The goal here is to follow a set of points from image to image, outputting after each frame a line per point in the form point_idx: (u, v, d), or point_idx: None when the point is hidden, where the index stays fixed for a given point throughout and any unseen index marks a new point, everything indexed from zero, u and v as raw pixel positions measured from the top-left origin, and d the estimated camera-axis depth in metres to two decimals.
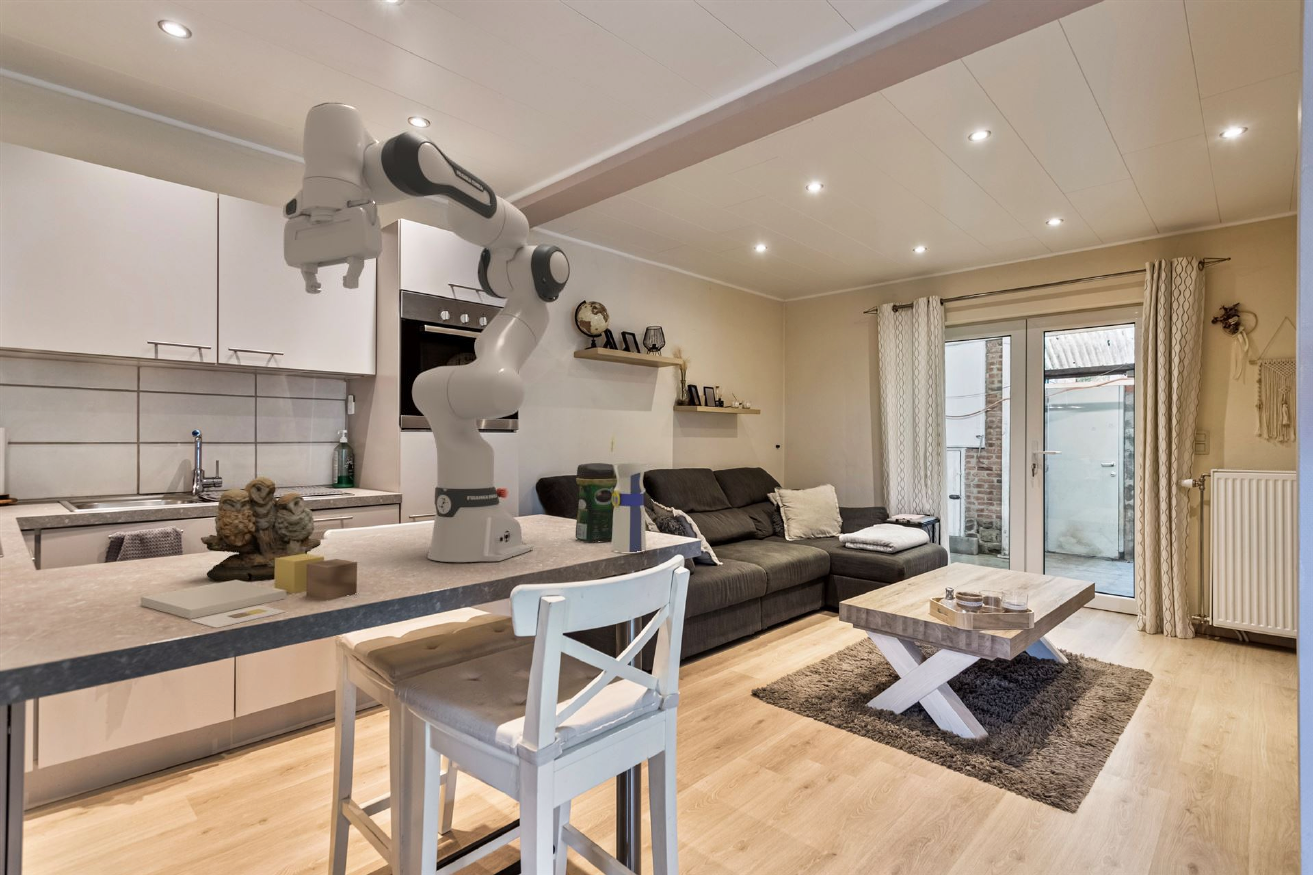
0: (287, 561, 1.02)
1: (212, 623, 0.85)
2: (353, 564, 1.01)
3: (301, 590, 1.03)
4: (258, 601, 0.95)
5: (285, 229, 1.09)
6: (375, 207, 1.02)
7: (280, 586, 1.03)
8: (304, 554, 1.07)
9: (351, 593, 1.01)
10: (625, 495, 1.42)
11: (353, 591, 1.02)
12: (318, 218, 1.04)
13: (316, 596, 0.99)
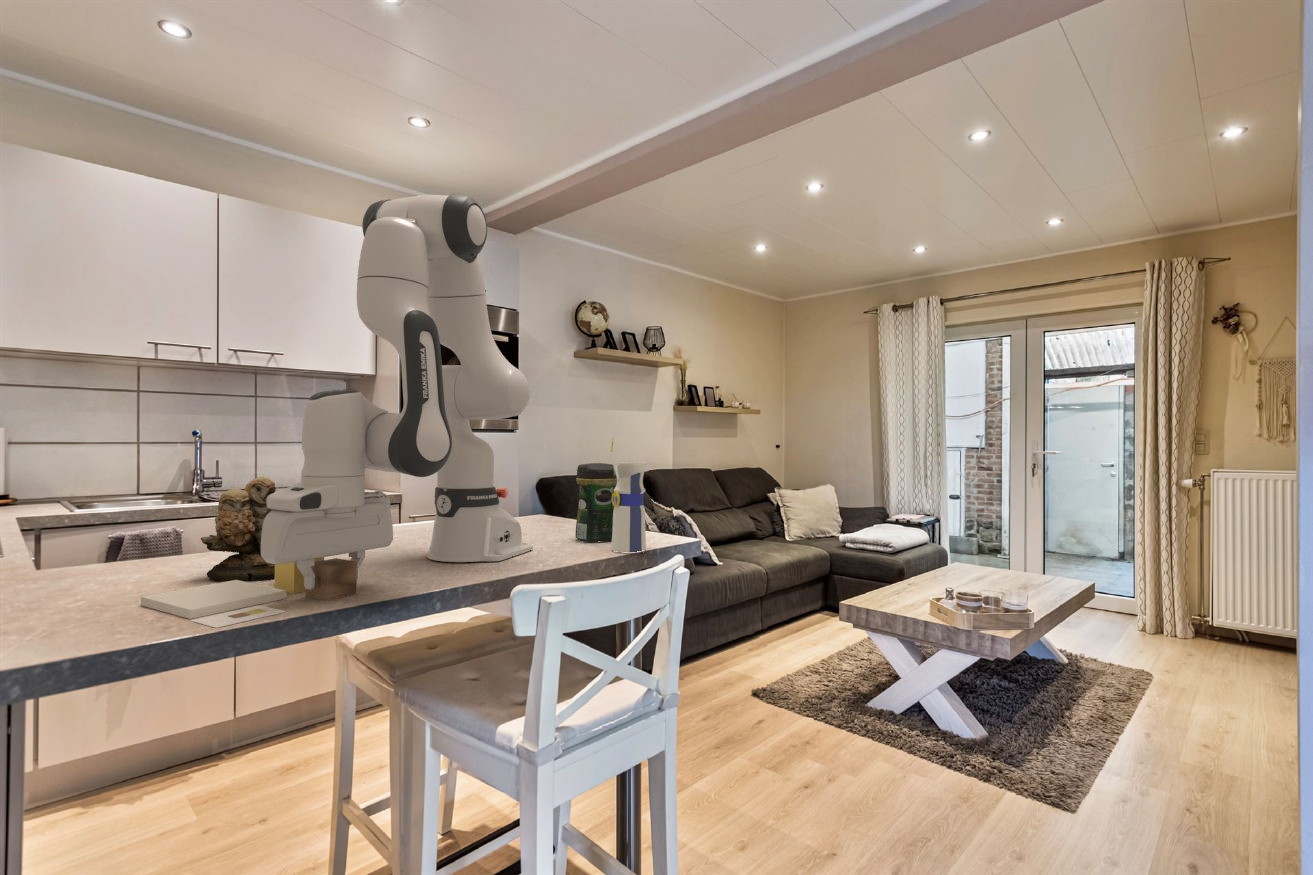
0: None
1: (212, 623, 0.85)
2: (353, 563, 1.01)
3: (301, 590, 1.03)
4: (258, 601, 0.95)
5: (287, 523, 0.92)
6: None
7: (280, 586, 1.03)
8: None
9: (351, 592, 1.01)
10: (625, 495, 1.42)
11: (353, 590, 1.02)
12: (350, 515, 1.00)
13: (316, 595, 0.99)
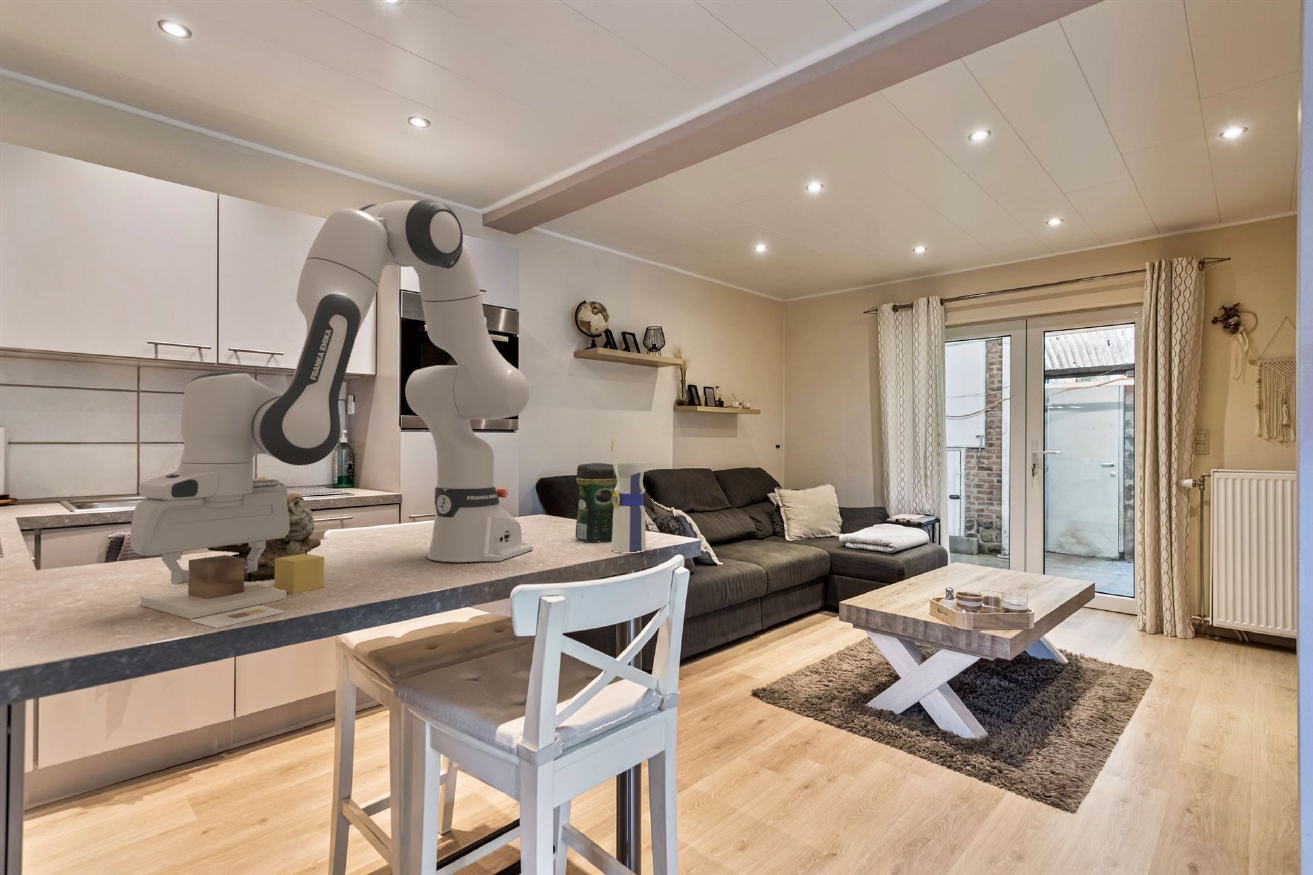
0: (287, 561, 1.02)
1: (212, 623, 0.85)
2: (239, 560, 0.96)
3: (301, 590, 1.03)
4: (258, 601, 0.95)
5: (157, 512, 0.87)
6: None
7: (280, 586, 1.03)
8: (304, 554, 1.07)
9: (237, 591, 0.96)
10: (625, 495, 1.42)
11: (240, 589, 0.96)
12: (234, 504, 0.95)
13: (197, 594, 0.93)
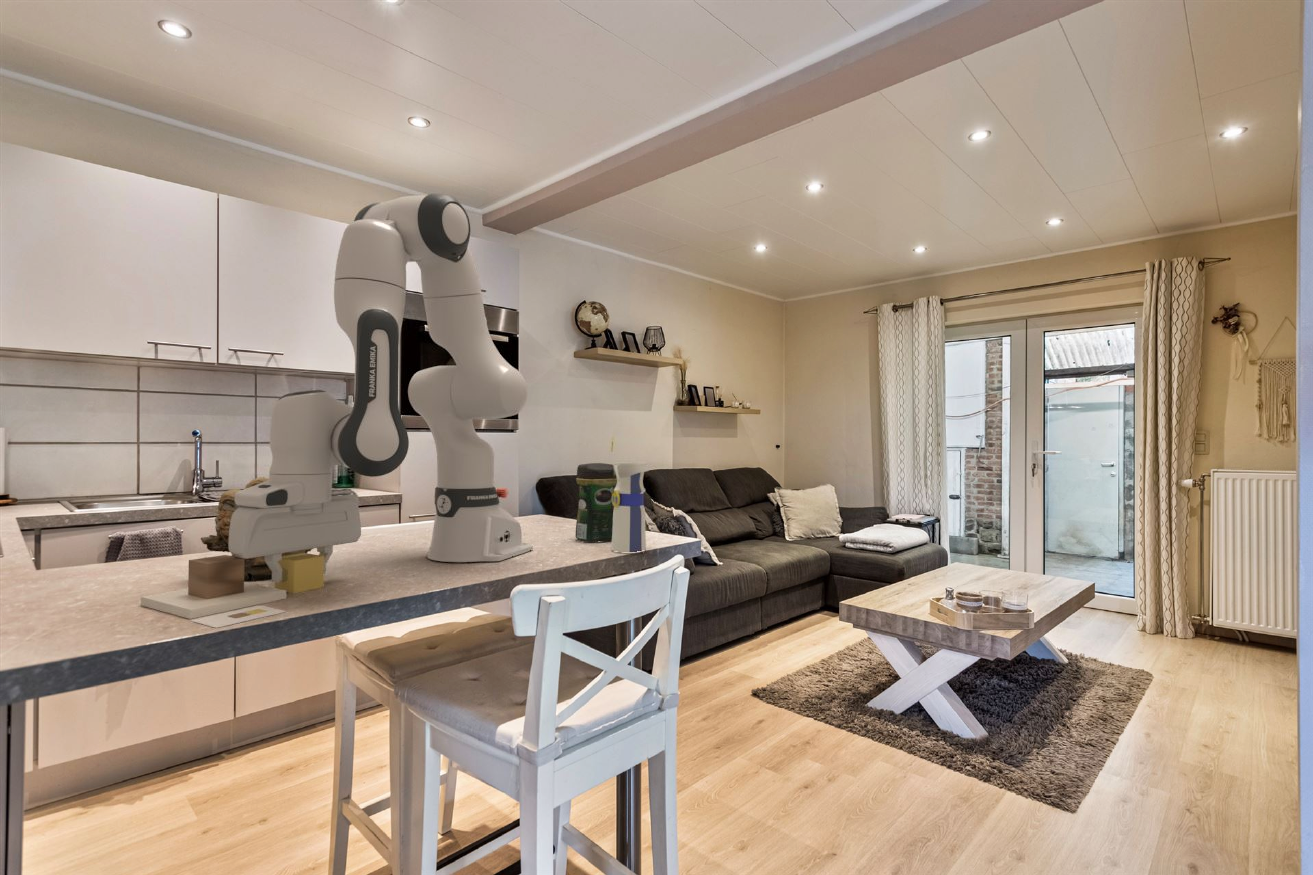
0: (287, 560, 1.02)
1: (212, 623, 0.85)
2: (239, 560, 0.96)
3: (301, 589, 1.03)
4: (258, 601, 0.95)
5: (254, 519, 0.96)
6: (357, 498, 1.14)
7: (280, 585, 1.03)
8: (304, 553, 1.07)
9: (237, 591, 0.96)
10: (625, 495, 1.42)
11: (240, 589, 0.96)
12: (317, 511, 1.04)
13: (197, 594, 0.93)
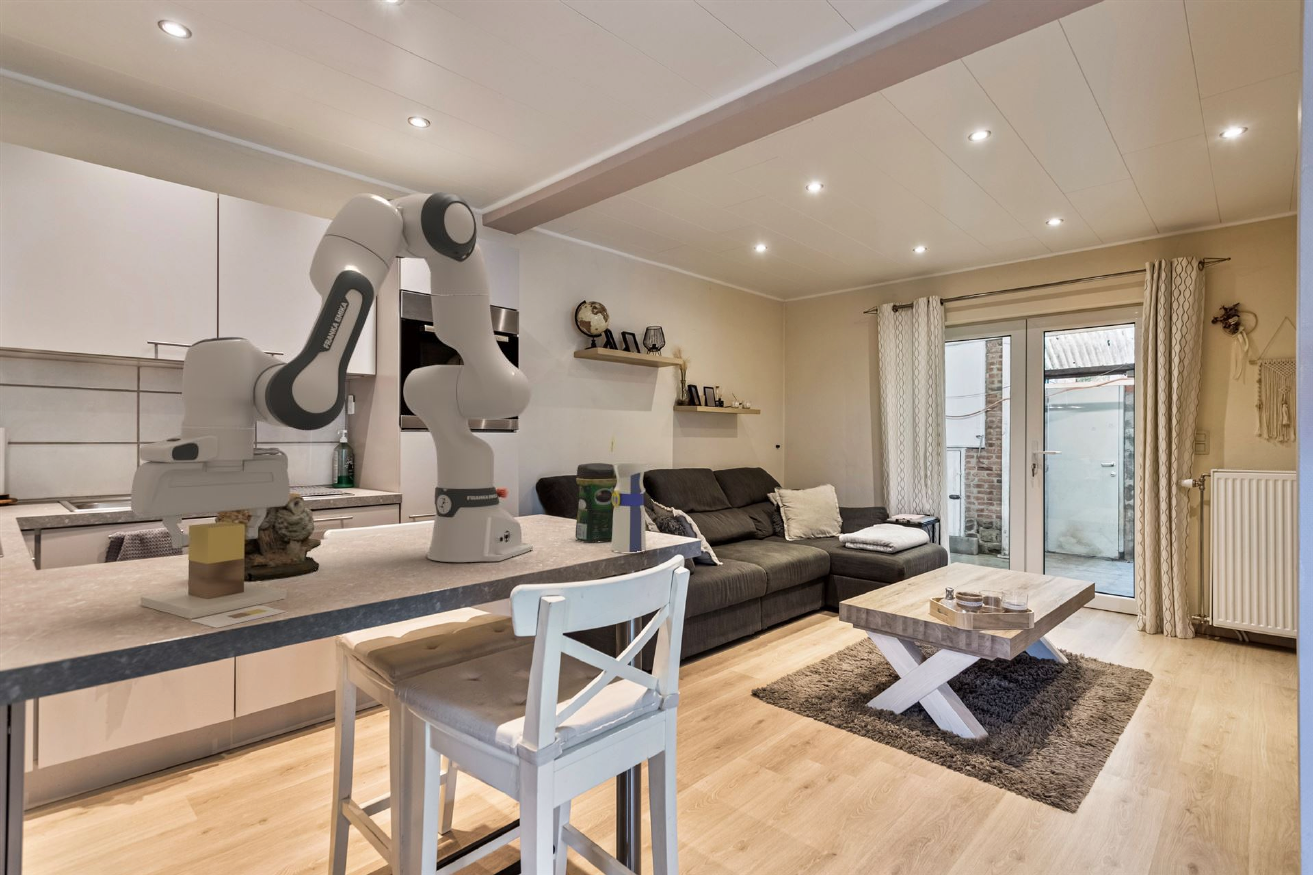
0: (201, 528, 0.93)
1: (212, 623, 0.85)
2: (239, 560, 0.96)
3: (217, 560, 0.93)
4: (258, 601, 0.95)
5: (158, 474, 0.87)
6: None
7: (194, 556, 0.94)
8: (224, 522, 0.98)
9: (237, 591, 0.96)
10: (625, 495, 1.42)
11: (240, 589, 0.96)
12: (235, 469, 0.95)
13: (197, 594, 0.93)
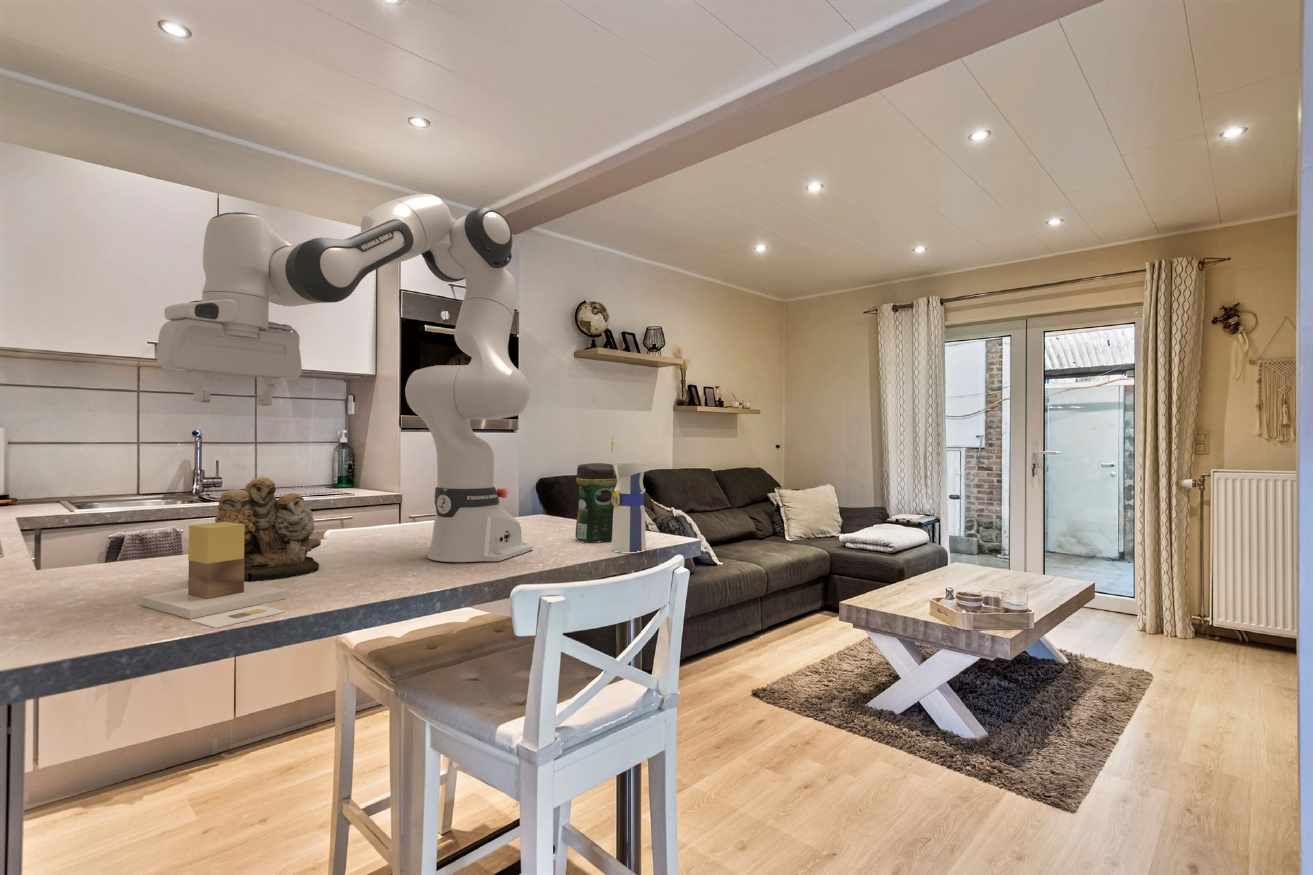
0: (201, 528, 0.93)
1: (212, 623, 0.85)
2: (239, 560, 0.96)
3: (216, 560, 0.93)
4: (258, 601, 0.95)
5: (182, 328, 0.94)
6: (298, 337, 1.12)
7: (194, 556, 0.94)
8: (224, 522, 0.98)
9: (237, 591, 0.96)
10: (625, 495, 1.42)
11: (240, 589, 0.96)
12: (252, 335, 1.02)
13: (197, 594, 0.93)
